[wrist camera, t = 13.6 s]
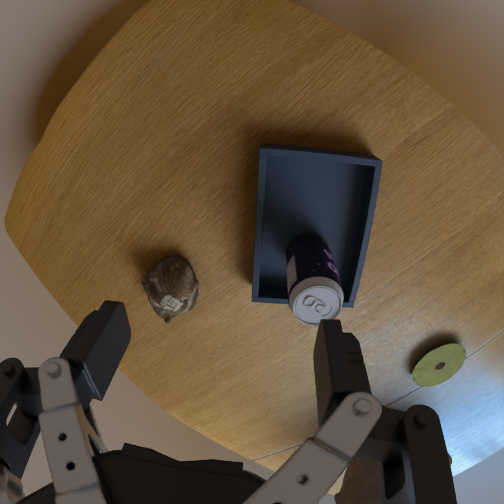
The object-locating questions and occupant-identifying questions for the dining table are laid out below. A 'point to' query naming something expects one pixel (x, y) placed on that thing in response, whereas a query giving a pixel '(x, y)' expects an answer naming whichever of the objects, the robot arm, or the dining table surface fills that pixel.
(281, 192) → the dark blue tray
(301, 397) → the dining table surface
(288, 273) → the beverage can
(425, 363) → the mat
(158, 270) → the fossilized seashell
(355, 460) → the bowl
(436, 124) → the dining table surface
